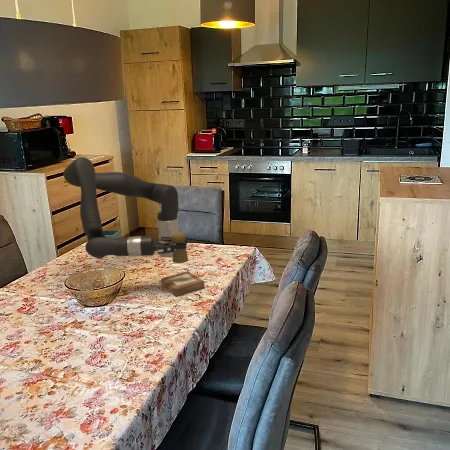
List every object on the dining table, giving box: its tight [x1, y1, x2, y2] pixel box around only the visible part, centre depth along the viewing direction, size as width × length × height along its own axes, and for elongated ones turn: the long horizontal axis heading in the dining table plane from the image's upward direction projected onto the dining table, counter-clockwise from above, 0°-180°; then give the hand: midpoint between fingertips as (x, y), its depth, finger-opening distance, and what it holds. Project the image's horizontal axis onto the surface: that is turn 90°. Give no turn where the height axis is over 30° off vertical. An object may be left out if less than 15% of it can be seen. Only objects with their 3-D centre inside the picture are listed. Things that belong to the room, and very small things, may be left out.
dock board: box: [160, 270, 205, 298], centre depth 170 cm, size 13×12×3 cm
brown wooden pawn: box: [172, 231, 189, 264], centre depth 166 cm, size 6×6×11 cm
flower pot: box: [103, 229, 121, 238], centre depth 217 cm, size 9×9×9 cm
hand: (186, 243), depth 166 cm, fingers closed on brown wooden pawn, 4 cm apart
